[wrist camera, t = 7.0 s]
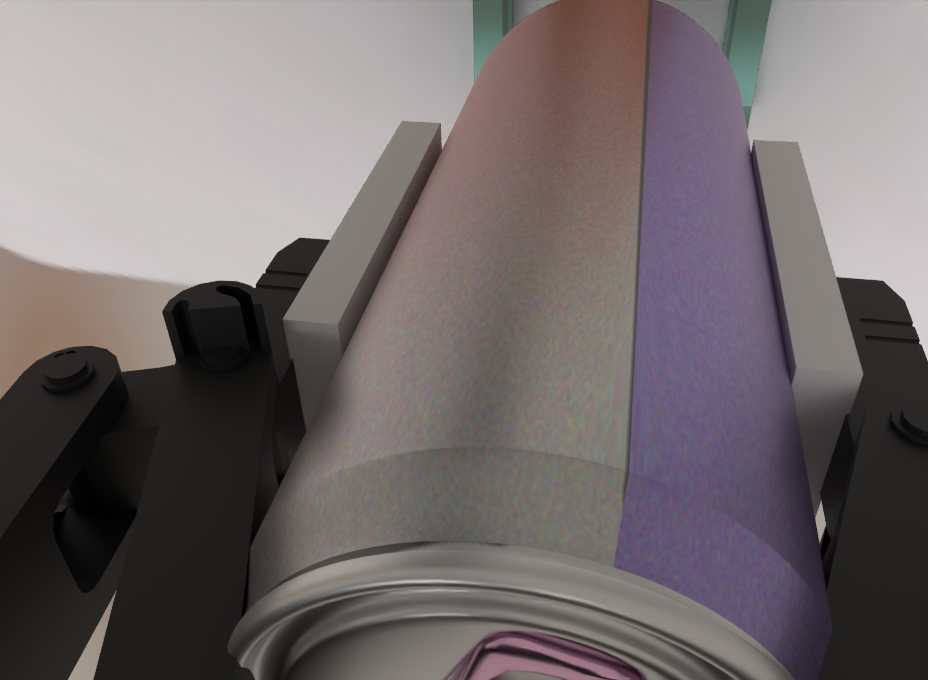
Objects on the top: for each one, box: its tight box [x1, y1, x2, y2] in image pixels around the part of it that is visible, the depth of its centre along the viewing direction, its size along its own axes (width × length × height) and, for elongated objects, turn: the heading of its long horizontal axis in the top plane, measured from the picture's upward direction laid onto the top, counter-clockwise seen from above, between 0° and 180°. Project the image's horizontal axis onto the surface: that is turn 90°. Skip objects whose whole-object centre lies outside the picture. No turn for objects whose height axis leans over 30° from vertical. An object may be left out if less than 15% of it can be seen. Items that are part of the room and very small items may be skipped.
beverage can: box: [227, 0, 833, 680], centre depth 14 cm, size 6×6×15 cm
